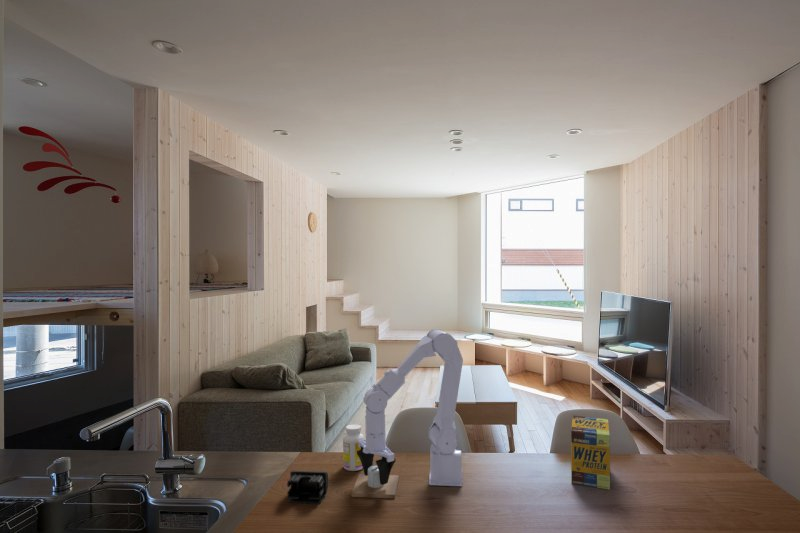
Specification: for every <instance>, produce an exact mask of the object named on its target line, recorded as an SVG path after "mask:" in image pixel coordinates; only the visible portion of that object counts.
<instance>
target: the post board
mask: <svg viewBox="0 0 800 533" xmlns="http://www.w3.org/2000/svg"><path fill="white" fill-rule="evenodd" d="M399 481H400V475H398V474H397V475H396V474H390V475H389V479H388V483H386V484H384V485H383V486H382V487H379V488H372V487H369V486H368V475H367V476H365V474H364V473H359V474H358V476H357V479H356V481H355V483H354V486H353V488H352V491H351V494H350V495H351V497H352V498H374V499H375V498H376V499H395V498H396V494H397V490H398V485H399Z"/></svg>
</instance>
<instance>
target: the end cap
mask: <svg viewBox="0 0 800 533" xmlns="http://www.w3.org/2000/svg"><path fill="white" fill-rule="evenodd" d="M286 486H287V488H289V489H288V491H287V492H286V494H287V498H288V500H287V501H288V502H289V504H304V503H305V504H311V505H321V504H322V502H323V500H324V498H325V497H326V496H325V495H327V492H328V487H329V474H328V471H320V470H319V471H316V470H313V471H312V470H291V471H290V478H289V480H288V481H287V483H286ZM305 504H304V505H305Z"/></svg>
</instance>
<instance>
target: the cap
mask: <svg viewBox="0 0 800 533" xmlns="http://www.w3.org/2000/svg"><path fill="white" fill-rule="evenodd" d="M368 486H369V487H372V488H379V487H382V486H383V485H381V483H380V476H379V469H378V466H377V465H373V466H371V467H369V468H368Z"/></svg>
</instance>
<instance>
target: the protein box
mask: <svg viewBox="0 0 800 533" xmlns="http://www.w3.org/2000/svg"><path fill="white" fill-rule="evenodd" d="M609 423H610V422H609V419H607V418H598V417H591V416H590V417H589V416H581V415H572V421H571V429H570V464H571V466H570V467H571V468H570V471H571V477H570V478H571V485H572V484H573V485H578V486H584V487H589V488H590V487H591V488H598V489H602V490H603V489H604V490H611V436H610V435H611V434H610V424H609Z"/></svg>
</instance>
